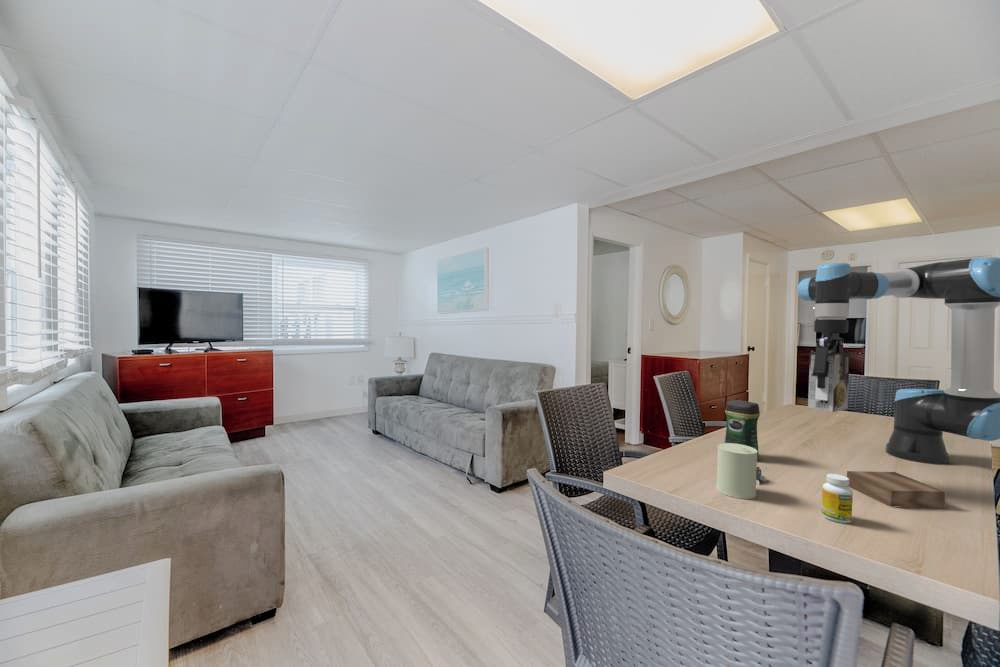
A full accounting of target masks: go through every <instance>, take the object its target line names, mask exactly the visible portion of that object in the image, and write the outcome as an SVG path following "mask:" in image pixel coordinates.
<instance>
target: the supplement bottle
mask: <svg viewBox="0 0 1000 667" xmlns="http://www.w3.org/2000/svg"><path fill="white" fill-rule="evenodd" d="M825 480H826V482H825V483H823V484H822V490H821V492H822V493H821V495H822V496H821V498H822V499H821V514H822V516H823V517H824V518H825V519H827V520H829V521H832V522H834V523H839V524H850V523H851V522H852V517H853V513H852V512H853V498H854V497H853V496H854V494H853V492H854V491H853V489H852V488H851V487H849V486H848V485H849V478H847V476H846V475H845V476H844V475H842V474H836V473H828V474H826V479H825Z"/></svg>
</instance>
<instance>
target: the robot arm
mask: <svg viewBox="0 0 1000 667" xmlns="http://www.w3.org/2000/svg"><path fill="white" fill-rule="evenodd" d="M851 268H852V267H851V265H850V263H846V262H833V263H832V262H831V263H825V264H820V265H819V266H818V267H817V268H816V274H815V276H811V277H806V278H803V279H802V280H801V281H800V282H799V283H798V285H797V295H798V296H799V297H800V299H802V300H803V301H805V302H809V301H811V302H814V303H815V304H814V306H813V308H812V310H813V311H814V318H816V319H815V320H814V322H813V324H814V325H813V332H815V333H820V334H821V338H816V345H815V352H816V354H815V361H814V369H813V373H812V375H813V376H816V393H815V399H818V400H825V401H828V390H829V377H827V376H828V371H829V361H827V356H828V353H829V354H835V352H838V353H844V337H840V334H847V333H848V332H849V320H848V319H849V317H850V300H856V299H857V300H858V299H859V300H861V299H862V300H875V299H879V298H881V297H887V296H888V297H889V296H893V297H896V298H899V299H900V298H901V299H903V298H904V299H905V298H913V299H914V298H917V299H929V300H930V299H932V300H933V299H935V300H937V299H939V300H940V299H941V300H942V299H943V300H944V305H945V306H946V307H947V308H949V309H950V310H951V324H950V325H951V330H950V331H951V332H950V333H951V334H950V335H951V338H950V340H951V342H950V343H951V344H950V348H951V349H950V353H951V354H950V355H951V356H950V387H948V388H946V389H945V390H944V389H934V388H933V389H932V388H900V389H898V390H896V391H895V398H894V401H893V402H894V413H893V415H894V416H893V418H894V419H893V431H892V433H891V435H890V437H889V440H888V442H887V443H886V444H885V453H887V454H888V455H891V456H894V457H897V458H900V459H904V460H909V461H914V462H919V463H926V464H936V465H946V464H949V463H950V454H949V452H947V448H946V445H945V442H944V438H943V432H944V433H948V434H953V435H957V436H962V437H966V438H970V439H972V440H982V441H987V442H993V441H997V440H1000V393H999V392H997V391H996V390H995V387H994V386H995V385H994V384H995V327H996V326H995V322H996V321H995V320H996V319H995V317H996V308H998V307H999V306H1000V257H995V256H989V257H988V256H987V257H986V256H985V257H973V258H967V259H959V260H957V259H956V260H949V261H940V262H933V263H927V264H922V265H916V266H912V267H904V268H899V269H896V270H894V271H890V272H873V271H852V269H851ZM847 318H848V319H847ZM948 462H949V463H948Z"/></svg>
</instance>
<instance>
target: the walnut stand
mask: <svg viewBox="0 0 1000 667" xmlns="http://www.w3.org/2000/svg"><path fill="white" fill-rule="evenodd" d="M846 477H847V478H849V485H848V487H849V488H851V489H852V490H855V491H856V492H859V493H861V494H864V495H865V496H867V497H870V498H871V499H874V500H876V501H878V502H879V503H882V504H884V503H885V504H884V505H886V504H887V505H886V506H888V505H889V506H888V507H890V506H901V507H900V508H925V507H927V508H928V507H930V508H929V509H931V508H932V509H934V508H935V509H936V508H937V509H940V508H941V509H942V508H943V509H945V504H946V491H945V490H943V489H940V488H937V487H934V486H932V485H929V484H926V483H924V482H922V481H919V480H916V479H913V478H911V477H908V476H906V475H904V474H901V473H898V472H896V471H868V470H867V471H866V470H865V471H864V470H861V471H859V470H857V471H856V470H855V471H854V470H851V471H850V470H847V471H846Z"/></svg>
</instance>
